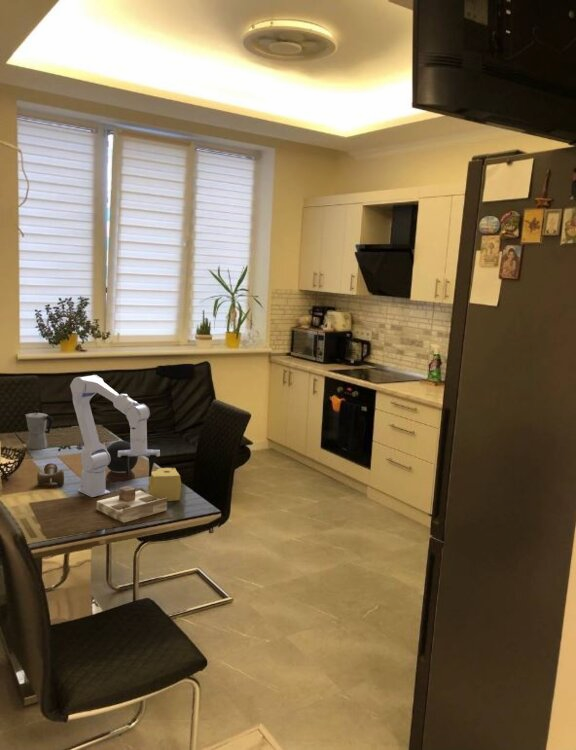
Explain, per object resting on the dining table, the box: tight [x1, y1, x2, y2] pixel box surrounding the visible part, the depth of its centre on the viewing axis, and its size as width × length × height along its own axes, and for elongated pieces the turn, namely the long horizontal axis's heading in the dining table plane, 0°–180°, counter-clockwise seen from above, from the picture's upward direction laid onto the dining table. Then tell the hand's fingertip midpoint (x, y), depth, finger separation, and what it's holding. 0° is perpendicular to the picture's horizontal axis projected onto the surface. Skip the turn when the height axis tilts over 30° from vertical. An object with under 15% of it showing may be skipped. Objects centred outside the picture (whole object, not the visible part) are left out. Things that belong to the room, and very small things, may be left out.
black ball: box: [106, 440, 139, 482], centre depth 254 cm, size 13×13×15 cm
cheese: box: [147, 467, 182, 502], centre depth 234 cm, size 10×11×10 cm
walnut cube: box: [118, 485, 137, 502], centre depth 221 cm, size 4×4×4 cm
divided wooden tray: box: [96, 489, 168, 524], centre depth 220 cm, size 16×18×4 cm
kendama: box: [36, 462, 65, 487], centre depth 243 cm, size 6×10×20 cm
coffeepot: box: [24, 408, 54, 451], centre depth 288 cm, size 15×9×18 cm, turn 70°
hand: (139, 475), depth 225 cm, fingers open, 7 cm apart
